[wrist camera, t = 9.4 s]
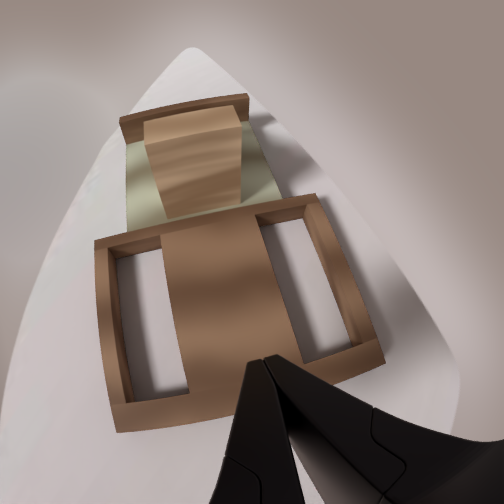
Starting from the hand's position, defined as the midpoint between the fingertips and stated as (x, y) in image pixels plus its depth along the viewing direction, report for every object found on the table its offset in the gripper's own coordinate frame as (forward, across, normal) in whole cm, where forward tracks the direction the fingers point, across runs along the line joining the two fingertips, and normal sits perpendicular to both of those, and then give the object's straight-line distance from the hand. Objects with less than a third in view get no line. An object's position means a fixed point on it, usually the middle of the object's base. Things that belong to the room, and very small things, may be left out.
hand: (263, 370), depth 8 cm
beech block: (+21, 0, -5) cm, 22 cm away
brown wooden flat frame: (+18, 0, +1) cm, 18 cm away
